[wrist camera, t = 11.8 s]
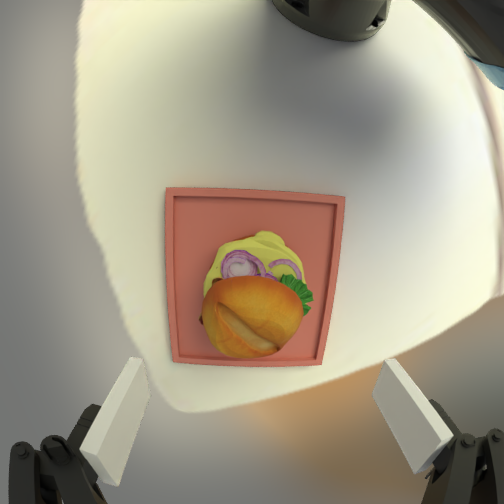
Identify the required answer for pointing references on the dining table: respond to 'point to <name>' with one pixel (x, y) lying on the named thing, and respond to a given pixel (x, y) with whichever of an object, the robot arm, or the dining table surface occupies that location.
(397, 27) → the dining table surface
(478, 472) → the robot arm
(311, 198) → the tray
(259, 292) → the cheeseburger
